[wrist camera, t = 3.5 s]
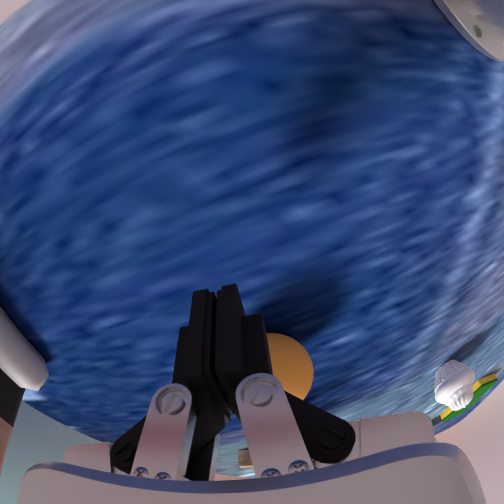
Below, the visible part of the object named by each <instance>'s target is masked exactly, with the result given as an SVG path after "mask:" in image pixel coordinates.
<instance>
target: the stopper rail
mask: <svg viewBox="0 0 504 504" xmlns="http://www.w3.org/2000/svg"><path fill="white" fill-rule="evenodd" d="M238 458H239V467H241V468H252V467H253V464H252V460H251V456H250V453H249V450H238Z"/></svg>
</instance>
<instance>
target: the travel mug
mask: <svg viewBox="0 0 504 504" xmlns="http://www.w3.org/2000/svg"><path fill="white" fill-rule="evenodd" d="M25 389H26V388H21V387H20V386H18V385H17V384H16V383H15V382H14V381H13V380H12V379H11V378H10V377H9V376H8V375H7V374H6V373H5V372H4V371H3V370H2V369H1V368H0V475H1V470H2V466H3V462H4V458H5V454H6V449H7V446H8V443H9V439H10V436H11V433H12V430H13V426H14V423H15V420H16V416H17V413H18V410H19V406H20V403H21V400H22V398H23V395H24V392H25Z"/></svg>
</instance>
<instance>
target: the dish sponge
mask: <svg viewBox="0 0 504 504" xmlns="http://www.w3.org/2000/svg"><path fill="white" fill-rule="evenodd" d="M496 378H497V377H496V375H495V373H494V374H492V375H489V376H487V377H484V378H482V379H479V380H478V381H477V382H476V383H475V384H474V385H473V389H472V391H473V398H472V400H471V402H470V403H469V404H468V405H466V407H465V408H464V407H463V408H462V409H460V410H457V411H454V410H451V409H450V407H449V408H448V409H447V410H446V411H444V412H443V413H442V414H441V415H440V416H441V419H443V420H442V421H443V422H444V421H446V420H449V419H451V418H454V417H456V416H458V415H460V414H462V413H463V412H464V411H465V410H466V409H468V408H469V407H470V406H471V405H472V404H473V403H475V402H476V401H477V400H478V399H479V398H480V397H481V396H482V395H483V394H484V393H485V392H486V391H488V390H489V389H490V388H491V387H492V386H493V385H494V384H495V383H496V382H497V380H498V379H496Z"/></svg>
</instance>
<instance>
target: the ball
mask: <svg viewBox="0 0 504 504" xmlns="http://www.w3.org/2000/svg"><path fill="white" fill-rule="evenodd" d="M266 334H267V339H268V345H269V351H270V358H271V364H272V370H273V376H275V377H276V378H277V379H279V381H280V382H281V384H282V386H283V389H284V390H285V391H287V392H288V393H290V394H292V395H294V396H296V397H298V398H300V399H302V400H303V399H304V398H305V397H306V396H307V394H308V392H309V390H310V388H311V385H312V381H313V365H312V361H311V359H310V356H309V354H308V353H307V351H306V350H305V349H304V347H303V346H302V345H301V344H300V343H299V342H297V341H296V340H294V339H293V338H291V337H289V336H286V335H283V334H279V333H266Z"/></svg>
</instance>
